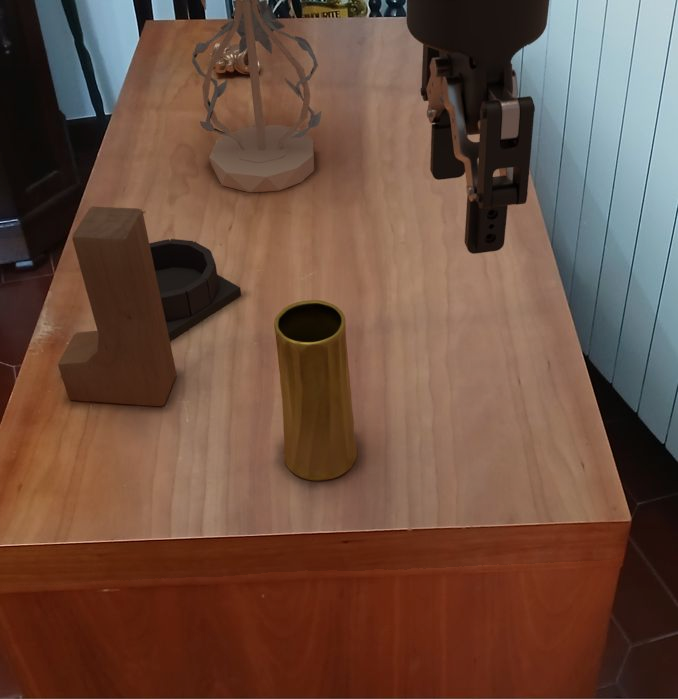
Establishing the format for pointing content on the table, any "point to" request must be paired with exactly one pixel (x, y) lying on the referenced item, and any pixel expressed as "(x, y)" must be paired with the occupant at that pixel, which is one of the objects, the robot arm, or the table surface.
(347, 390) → the vase
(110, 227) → the wooden block
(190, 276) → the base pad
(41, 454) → the table surface
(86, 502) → the table surface
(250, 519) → the table surface
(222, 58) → the ornament
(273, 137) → the table lamp
